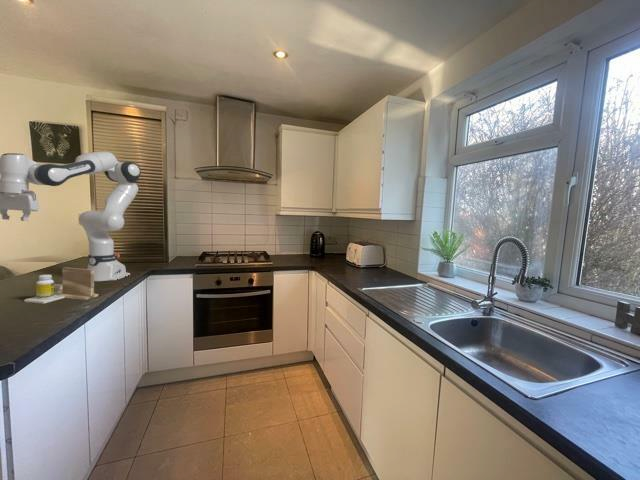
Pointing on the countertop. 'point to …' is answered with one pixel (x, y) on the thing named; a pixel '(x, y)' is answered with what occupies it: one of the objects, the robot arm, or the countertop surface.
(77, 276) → the tan t-shaped stand
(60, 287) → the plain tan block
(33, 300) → the coaster
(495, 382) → the countertop surface
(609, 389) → the countertop surface
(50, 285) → the supplement bottle
